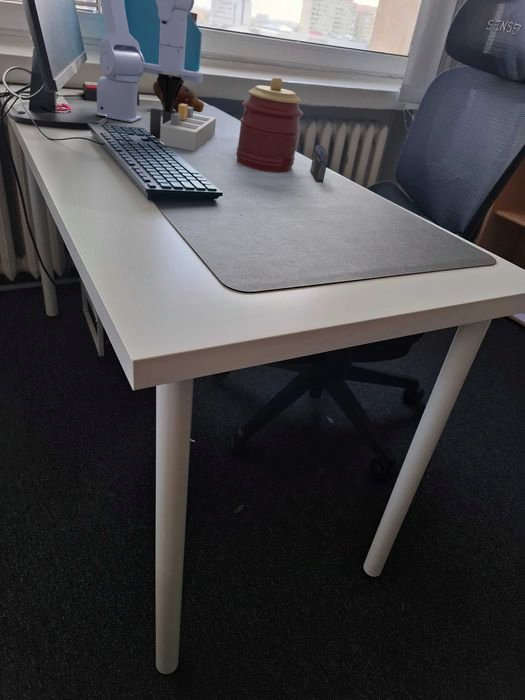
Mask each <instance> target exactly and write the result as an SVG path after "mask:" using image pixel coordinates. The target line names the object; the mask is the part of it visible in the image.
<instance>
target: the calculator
mask: <svg viewBox="0 0 525 700" xmlns="http://www.w3.org/2000/svg"><path fill="white" fill-rule="evenodd" d="M97 83H98V82H97V81H96V82H94V81H84V83H82V92H83V95H84V94H85V96H84V98H85V100H87V101H95V102H97ZM137 106H140V93H139V91H138V90H137Z"/></svg>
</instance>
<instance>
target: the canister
mask: <svg viewBox="0 0 525 700" xmlns="http://www.w3.org/2000/svg"><path fill="white" fill-rule="evenodd" d="M283 86H284V82H283V80H282V78H281V77H279V76H274V77H273V78H272V79H271V80H270V85H255V86H254V87H253V88H250V89H249V90H248V91H247V93H248V94H249V97H248V98H247V99H245V100H244V101H243V102H242V106H243V108H244V109H243V114H242V118H240V128H239V134H238V135H239V136H238V143H237V144H238V145H237V147H236V153H235V155H236V161H237V163H238V164H240V165H242V166H244V167H247V168H249V169H254V170H257V171H262V172H269V173H287V172H290V171H292V168H293V167H294V163H295V155H296V148H297V144H298V138H299V133H300V131H301V129H300V128H299V127H300V126H299V125H300V118H301V117H303V116H304V112H303V111H302V110H301V109H300V107H299V106H300V105H299V104H300V103H302V100H301V98H300V97H299V96H298V95H297V94H296V92H294V91H292V90H289V89H285V88H283Z"/></svg>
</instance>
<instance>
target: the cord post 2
mask: <svg viewBox="0 0 525 700" xmlns="http://www.w3.org/2000/svg"><path fill="white" fill-rule="evenodd" d="M173 113H174V111H173V112H171V113H170V112H165V106H164V103H163V107H162V119H161V125H162V124H164V123H166V122H168V121H170V120H171V114H173Z"/></svg>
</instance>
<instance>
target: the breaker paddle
mask: <svg viewBox="0 0 525 700" xmlns="http://www.w3.org/2000/svg"><path fill="white" fill-rule="evenodd" d="M187 112H188V105H187V104H180V105H178V114H181V120H185V119H186V118H187Z"/></svg>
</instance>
